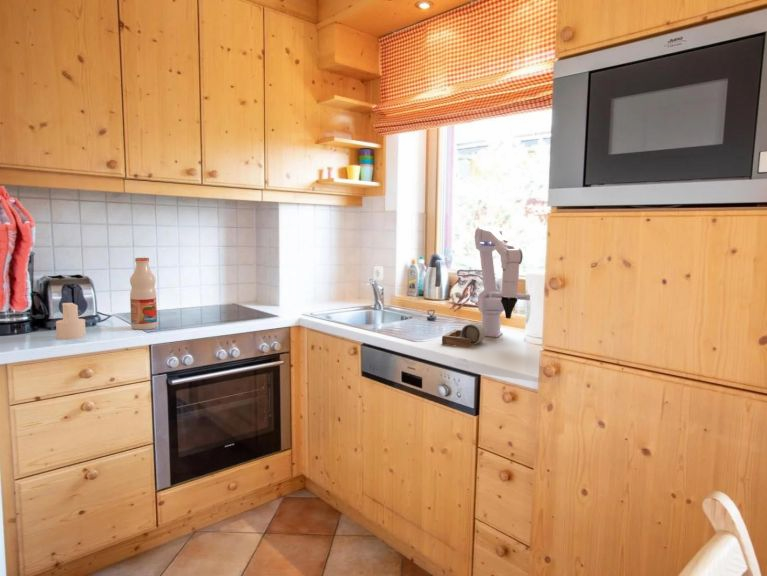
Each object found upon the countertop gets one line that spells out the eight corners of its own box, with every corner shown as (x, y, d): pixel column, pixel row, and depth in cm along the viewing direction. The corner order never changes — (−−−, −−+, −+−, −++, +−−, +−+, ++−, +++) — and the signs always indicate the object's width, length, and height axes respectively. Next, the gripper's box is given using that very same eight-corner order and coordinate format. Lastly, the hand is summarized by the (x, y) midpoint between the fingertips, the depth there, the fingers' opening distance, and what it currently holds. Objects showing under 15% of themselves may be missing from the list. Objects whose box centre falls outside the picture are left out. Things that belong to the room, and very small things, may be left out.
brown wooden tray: (454, 336, 199) (455, 329, 199) (480, 339, 194) (481, 332, 194) (442, 344, 186) (442, 336, 185) (469, 347, 181) (470, 339, 181)
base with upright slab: (88, 337, 183) (87, 304, 182) (59, 340, 177) (58, 307, 175) (82, 333, 189) (80, 301, 188) (54, 336, 183) (52, 303, 182)
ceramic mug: (486, 342, 190) (487, 322, 190) (479, 346, 183) (480, 325, 183) (459, 339, 195) (460, 319, 195) (452, 343, 188) (452, 322, 187)
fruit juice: (139, 325, 207) (137, 257, 204) (161, 326, 207) (159, 257, 204) (126, 329, 198) (123, 258, 195) (149, 330, 197) (147, 259, 194)
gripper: (487, 281, 184) (486, 317, 186) (528, 283, 178) (526, 321, 180) (492, 279, 191) (490, 315, 192) (531, 282, 184) (529, 318, 186)
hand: (508, 318), depth 186 cm, fingers closed
